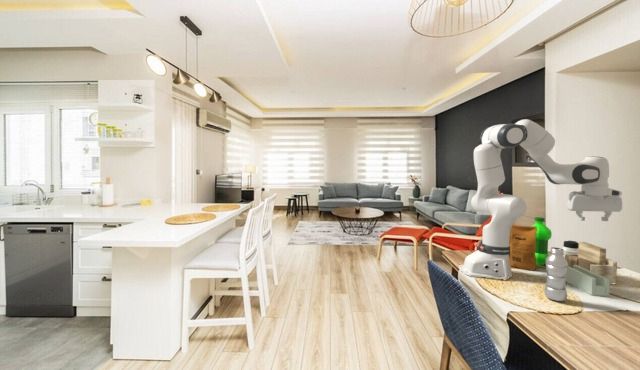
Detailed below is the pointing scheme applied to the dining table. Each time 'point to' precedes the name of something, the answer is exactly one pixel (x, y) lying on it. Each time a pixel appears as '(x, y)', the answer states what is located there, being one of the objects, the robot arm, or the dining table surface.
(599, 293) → the stand
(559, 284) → the plastic bottle
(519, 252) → the coffee package
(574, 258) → the offcut top
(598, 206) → the robot arm
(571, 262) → the offcut low
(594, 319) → the dining table surface
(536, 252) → the plastic bottle
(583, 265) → the offcut tall
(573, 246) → the medicine bottle
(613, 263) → the box
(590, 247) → the light wood flat panel
